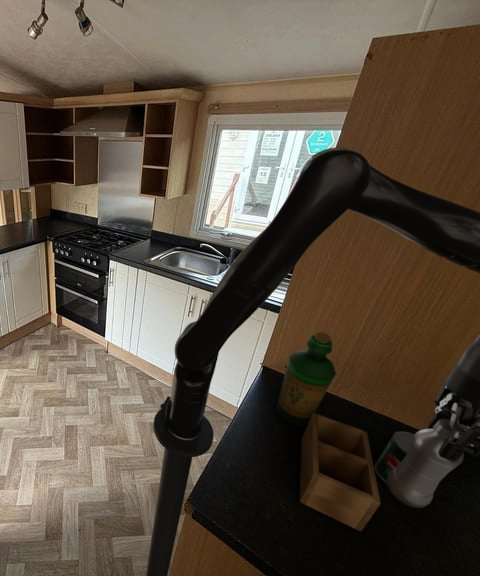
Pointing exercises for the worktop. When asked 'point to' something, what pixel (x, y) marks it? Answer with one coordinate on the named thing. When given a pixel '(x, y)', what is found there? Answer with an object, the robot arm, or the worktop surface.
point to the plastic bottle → (422, 466)
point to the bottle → (306, 380)
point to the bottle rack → (338, 472)
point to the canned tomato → (393, 453)
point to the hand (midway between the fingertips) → (440, 443)
